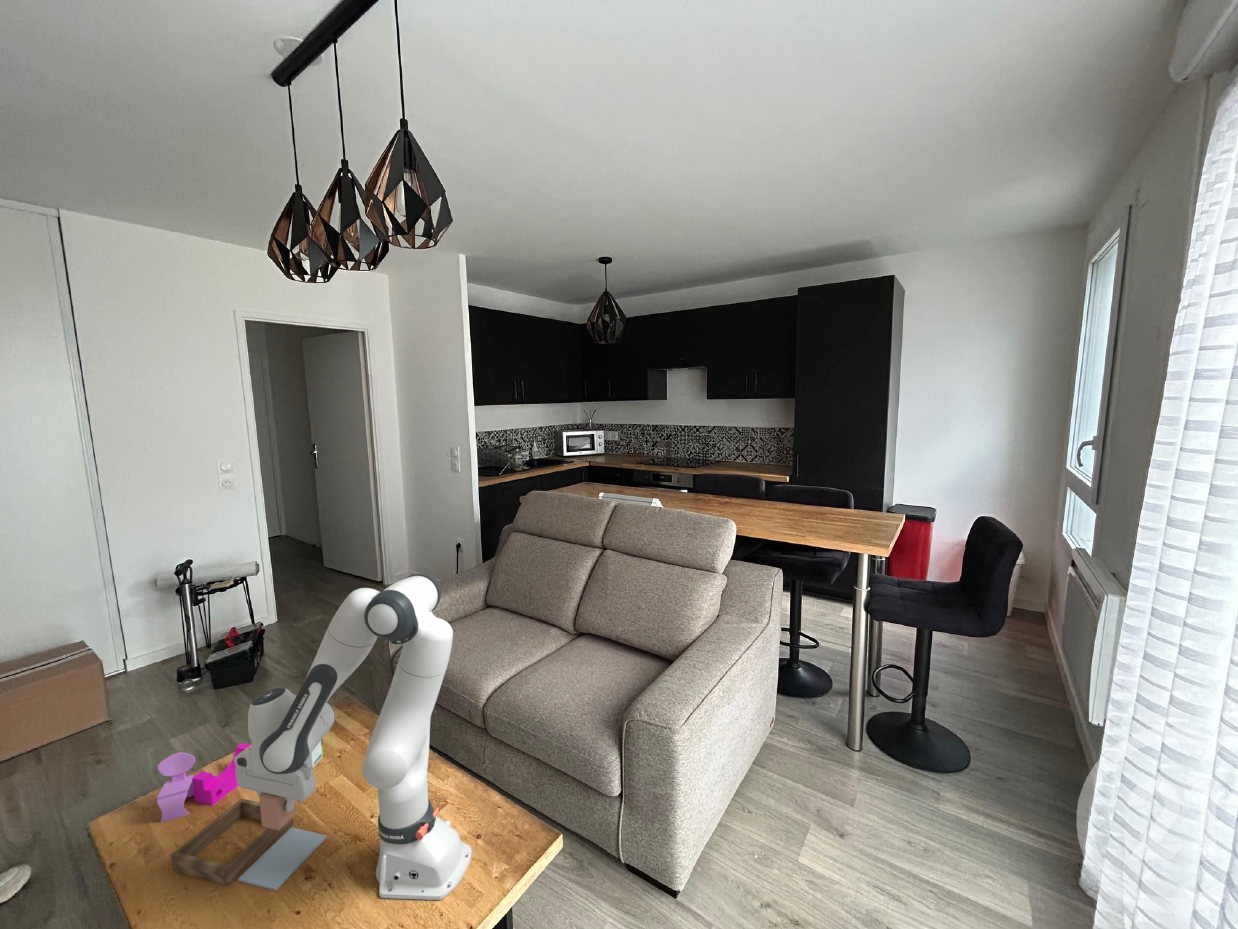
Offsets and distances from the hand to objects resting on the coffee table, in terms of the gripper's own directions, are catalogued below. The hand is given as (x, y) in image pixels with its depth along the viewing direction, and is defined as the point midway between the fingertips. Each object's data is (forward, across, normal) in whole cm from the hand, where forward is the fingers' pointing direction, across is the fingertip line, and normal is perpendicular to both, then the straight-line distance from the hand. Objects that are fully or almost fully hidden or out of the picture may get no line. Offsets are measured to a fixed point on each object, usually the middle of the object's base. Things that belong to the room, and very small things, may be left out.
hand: (278, 807), depth 125 cm
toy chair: (+15, +42, -6) cm, 45 cm away
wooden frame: (+15, +15, 0) cm, 21 cm away
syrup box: (+15, +22, -30) cm, 40 cm away
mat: (+14, 0, 0) cm, 14 cm away
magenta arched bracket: (+15, +37, -17) cm, 44 cm away
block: (+4, 0, 0) cm, 4 cm away
